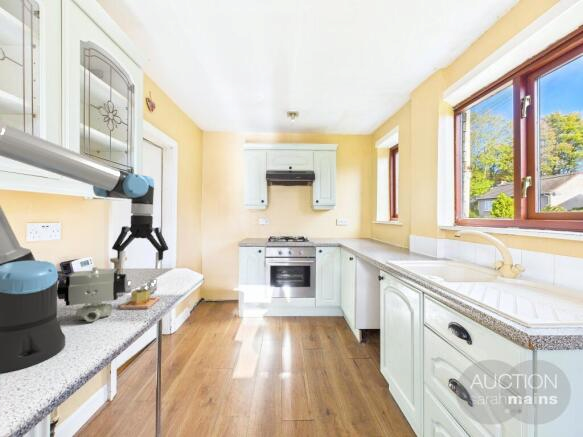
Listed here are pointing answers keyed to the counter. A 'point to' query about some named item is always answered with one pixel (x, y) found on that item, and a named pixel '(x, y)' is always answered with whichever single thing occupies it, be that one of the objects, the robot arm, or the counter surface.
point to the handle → (117, 263)
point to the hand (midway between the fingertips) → (140, 268)
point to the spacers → (150, 285)
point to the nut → (140, 297)
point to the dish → (147, 306)
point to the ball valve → (92, 291)
